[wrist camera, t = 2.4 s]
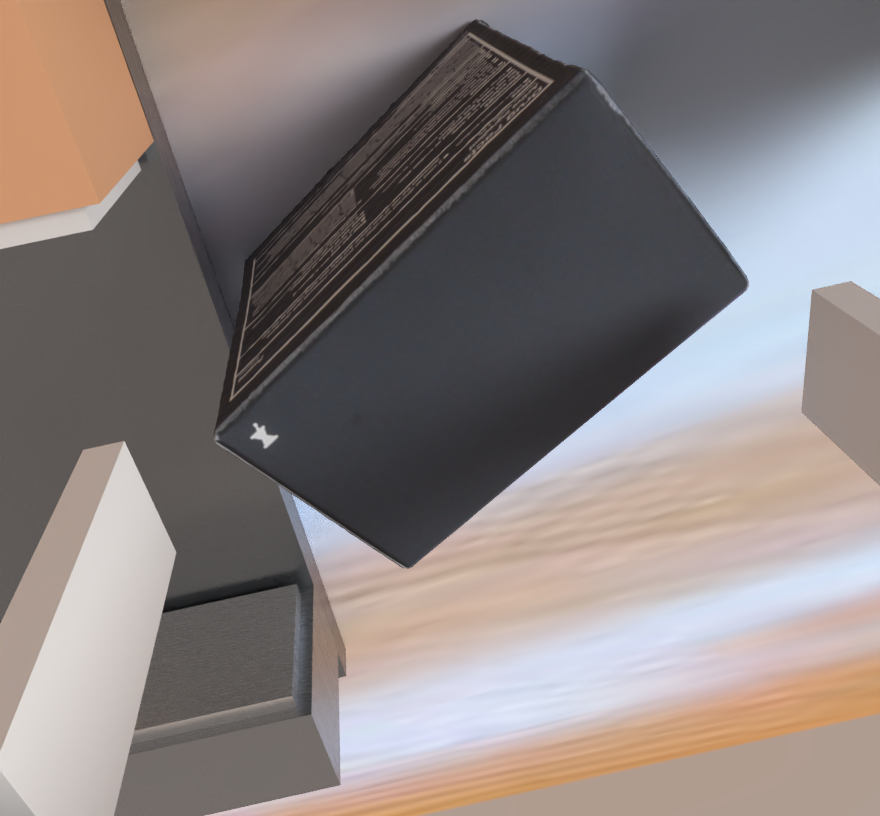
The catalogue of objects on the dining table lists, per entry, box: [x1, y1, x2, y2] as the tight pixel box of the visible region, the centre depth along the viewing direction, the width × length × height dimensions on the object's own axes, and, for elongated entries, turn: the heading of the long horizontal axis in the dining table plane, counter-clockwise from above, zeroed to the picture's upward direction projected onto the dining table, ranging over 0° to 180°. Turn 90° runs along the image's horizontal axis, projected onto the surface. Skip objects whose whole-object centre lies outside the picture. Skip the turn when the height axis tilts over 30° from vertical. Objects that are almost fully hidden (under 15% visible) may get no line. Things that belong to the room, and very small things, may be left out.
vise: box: [0, 0, 346, 816], centre depth 24 cm, size 28×12×8 cm, turn 10°
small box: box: [213, 20, 749, 569], centre depth 20 cm, size 11×6×10 cm, turn 134°
